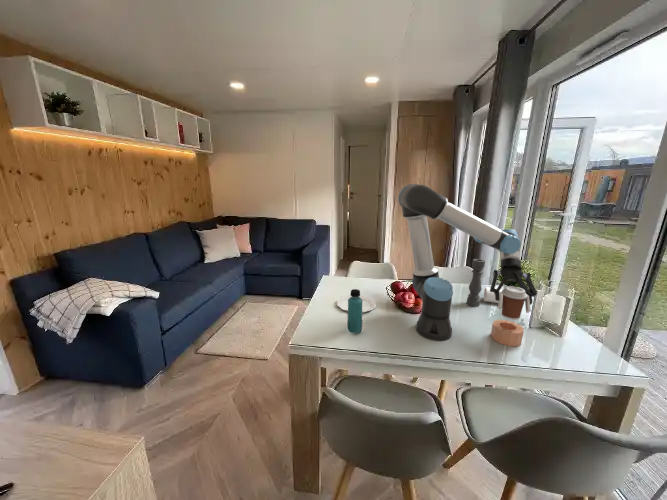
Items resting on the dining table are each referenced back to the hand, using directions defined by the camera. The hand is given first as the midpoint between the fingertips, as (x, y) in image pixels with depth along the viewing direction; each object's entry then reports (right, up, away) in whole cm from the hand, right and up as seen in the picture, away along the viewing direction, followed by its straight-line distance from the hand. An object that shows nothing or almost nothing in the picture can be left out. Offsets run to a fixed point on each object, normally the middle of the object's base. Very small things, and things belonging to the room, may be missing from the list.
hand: (514, 309), depth 113 cm
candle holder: (+3, -6, +39) cm, 40 cm away
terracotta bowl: (+1, -14, +7) cm, 15 cm away
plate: (-61, -6, +37) cm, 71 cm away
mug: (+17, -5, +45) cm, 48 cm away
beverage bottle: (-64, -12, +10) cm, 66 cm away
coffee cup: (+1, -4, +4) cm, 6 cm away
